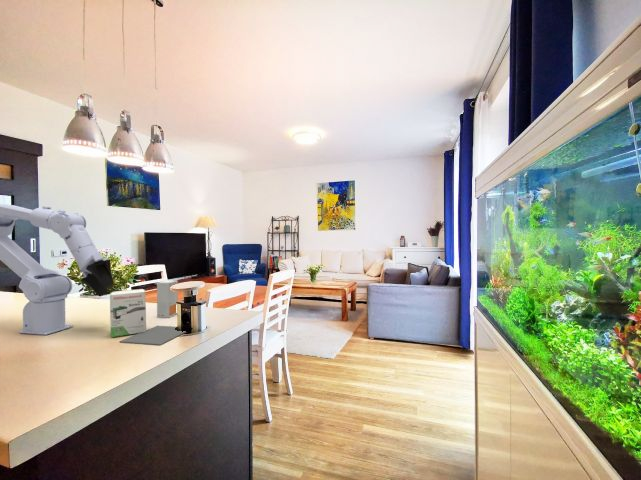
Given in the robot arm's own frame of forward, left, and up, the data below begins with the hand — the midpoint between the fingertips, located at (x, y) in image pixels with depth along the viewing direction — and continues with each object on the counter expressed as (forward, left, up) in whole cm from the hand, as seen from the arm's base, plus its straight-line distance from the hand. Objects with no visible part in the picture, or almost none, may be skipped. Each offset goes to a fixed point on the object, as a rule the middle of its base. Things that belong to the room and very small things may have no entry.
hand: (106, 290), depth 87 cm
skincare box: (+5, +19, -12) cm, 23 cm away
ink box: (+7, 0, -12) cm, 14 cm away
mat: (+16, 0, -12) cm, 20 cm away
